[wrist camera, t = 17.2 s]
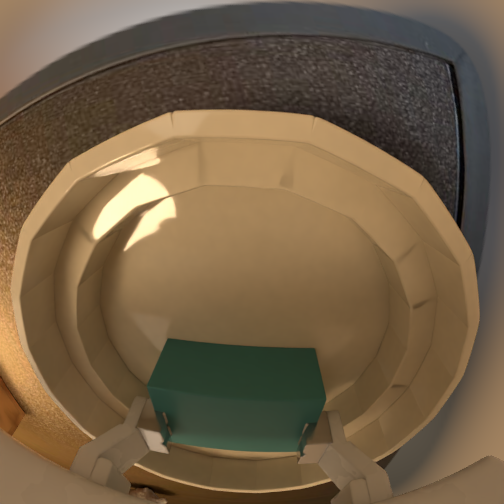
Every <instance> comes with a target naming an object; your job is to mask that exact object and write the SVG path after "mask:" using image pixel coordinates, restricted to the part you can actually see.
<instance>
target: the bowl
mask: <svg viewBox="0 0 504 504" xmlns="http://www.w3.org/2000/svg"><path fill="white" fill-rule="evenodd" d="M10 289H11V291H10V292H11V299H12V305H13V311H14V317H15V322H16V326H17V331H18V336H19V340H20V343H21V346H22V348H23V350H24V353H25V355H26V357H27V359H28V361H29V363H30V365H31V367H32V368H33V370H34V372H35V374H36V376H37V378H38V379H39V381H40V383H41V385H42V386H43V388H44V390H45V391H46V392H47V394H48V395H49V396H50V397H51V399H52V400H53V401H54V402H55V403H56V404H57V406H58V407H59V408H60V409H61V410H62V411H63V412H64V413H65V414H66V416H67V417H68V418H69V419H70V420H71V421H72V422H73V423H74V424H75V425H76V426H77V427H78V428H79V429H80V430H82V431H83V432H84V433H85V434H87V435H88V436H89V437H91V438H92V439H93V440H94V439H95V438H97V437H99V436H100V435H102V434H104V433H105V432H107V431H109V430H110V429H112V428H114V427H115V426H117V425H119V424H123V423H124V421H125V419H126V416H127V414H128V412H129V410H130V407H131V405H132V403H133V401H134V398H135V397H136V396H141V397H146V398H150V396H149V393H148V389H147V384H148V382H149V379H150V377H151V375H152V372H153V370H154V368H155V365H156V363H157V361H158V359H159V356H160V354H161V352H162V350H163V347H164V345H165V343H166V341H167V339H168V338H171V339H179V340H187V341H196V342H205V343H216V344H227V345H241V346H257V347H282V348H315V350H316V355H317V359H318V363H319V367H320V371H321V376H322V380H323V384H324V389H325V393H326V398H327V400H326V403H325V405H324V408H323V410H322V411H333V410H338V411H339V413H340V417H341V421H342V425H343V429H344V433H345V437H346V441H347V442H348V441H350V442H351V443H352V444H354V445H355V446H356V447H357V448H358V449H359V450H361V451H362V452H363V453H364V454H365V455H367V456H368V457H369V458H370V459H371V460H373V461H374V462H377V461H379V460H380V459H382V458H384V457H386V456H388V455H389V454H391V453H393V452H394V451H396V450H397V449H398V448H400V447H401V446H402V445H404V444H405V443H406V442H407V441H408V440H410V439H411V438H412V437H413V436H414V435H416V434H417V433H418V432H419V431H420V430H421V429H422V428H424V427H425V426H426V425H427V424H428V423H429V422H430V421H431V420H432V419H433V418H434V417H435V416H436V414H437V413H438V412H439V410H440V409H441V408H442V406H443V405H444V404H445V402H446V401H447V399H448V398H449V396H450V395H451V394H452V392H453V391H454V389H455V388H456V386H457V385H458V383H459V381H460V380H461V378H462V377H463V374H464V372H465V369H466V367H467V364H468V361H469V358H470V354H471V351H472V348H473V345H474V341H475V338H476V334H477V330H478V326H479V320H480V310H479V295H478V286H477V276H476V268H475V261H474V255H473V254H472V250H471V248H470V247H469V245H468V243H467V241H466V239H465V238H464V236H463V234H462V232H461V231H460V229H459V227H458V226H457V224H456V222H455V221H454V219H453V218H452V216H451V214H450V213H449V211H448V210H447V208H446V207H445V205H444V204H443V202H442V201H441V199H440V198H439V196H438V195H437V193H436V192H435V191H434V189H433V188H432V186H431V185H430V184H429V182H428V181H427V180H426V179H425V178H424V177H423V176H422V175H421V174H419V173H418V172H416V171H415V170H413V169H412V168H410V167H409V166H407V165H406V164H404V163H403V162H401V161H399V160H398V159H396V158H395V157H393V156H391V155H390V154H388V153H386V152H385V151H383V150H381V149H380V148H378V147H376V146H374V145H373V144H371V143H369V142H367V141H365V140H364V139H362V138H360V137H358V136H356V135H354V134H352V133H350V132H348V131H346V130H344V129H342V128H340V127H338V126H336V125H334V124H332V123H330V122H328V121H326V120H324V119H322V118H319V117H315V118H314V116H312V115H306V114H298V113H288V112H276V111H261V110H234V109H205V110H179V111H174V112H168V113H166V114H163V115H161V116H158V117H156V118H153V119H151V120H149V121H146V122H144V123H142V124H139V125H137V126H135V127H133V128H131V129H128V130H126V131H124V132H122V133H120V134H118V135H116V136H114V137H112V138H110V139H108V140H106V141H104V142H102V143H100V144H98V145H97V146H95V147H93V148H91V149H89V150H87V151H86V152H84V153H82V154H80V155H79V156H77V157H75V158H73V159H72V160H71V161H70V162H68V163H67V164H66V166H65V167H64V168H63V169H62V170H61V172H60V173H59V174H58V175H57V177H56V178H55V179H54V181H53V182H52V183H51V184H50V186H49V187H48V188H47V190H46V191H45V193H44V194H43V195H42V197H41V198H40V200H39V201H38V202H37V204H36V205H35V207H34V208H33V210H32V211H31V213H30V214H29V216H28V217H27V219H26V221H25V222H24V224H23V225H22V228H21V231H20V236H19V240H18V245H17V250H16V255H15V260H14V266H13V273H12V280H11V287H10ZM134 465H135V466H138V467H140V468H142V469H144V470H146V471H149V472H151V473H153V474H156V475H158V476H160V477H163V478H166V479H170V480H173V481H177V482H180V483H184V484H188V485H192V486H196V487H201V488H205V489H210V490H219V491H230V492H246V493H264V492H276V491H286V490H294V489H301V488H307V487H311V486H315V485H318V484H322V483H326V482H329V481H332V480H331V479H330V478H329V477H328V475H327V474H326V473H325V472H324V471H323V470H322V468H321V467H320V466H319V465H318V463H311V464H297V453H296V452H250V451H233V450H222V449H213V448H204V447H197V446H190V445H184V444H179V443H173V442H172V445H171V448H170V452H169V454H166V453H161V452H156V451H151V450H149V452H148V453H147V454H146V455H145V456H143V457H142V458H141V459H140V460H139V461H138V462H136V463H135V464H134Z"/></svg>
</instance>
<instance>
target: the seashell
mask: <svg viewBox="0 0 504 504" xmlns="http://www.w3.org/2000/svg"><path fill="white" fill-rule="evenodd" d="M129 495H132V496H135V497H138V498H142V499H145V500H149V501H153V502H157V503H161V504H166V503H167V500H166V499H165V498H162V499H160V498H158V496H157V495H156V494H154V492H153V491H152V490H151V489H149V488H136V490H132V489H130V490H129Z"/></svg>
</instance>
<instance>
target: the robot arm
mask: <svg viewBox="0 0 504 504" xmlns="http://www.w3.org/2000/svg"><path fill="white" fill-rule="evenodd" d="M167 424H168V420H167V417H166V415H165V412H160V411H155V410H154V408H153V405H152V402H151V399H150V398H146V397H141V396H136V397H135V398H134V401H133V403H132V405H131V407H130V410H129V412H128V414H127V416H126V419H125V421H124V423H123V424H119V425H117V426H115V427H114V428H112V429H110V430H109V431H107V432H105V433H104V434H102V435H100V436H99V437H97V438H95V439H94V440H92V441H90V442H88V443H87V444H85V445H83V446H81V447H80V448H79V450H78V453H77V455H76V457H75V459H74V461H73V463H72V465H71V467H70V470H67V469H65V468H63V467H61V466H60V465H58V464H56V463H54V462H52V461H50V460H49V459H47V458H45V457H43V456H42V455H40V454H38V453H37V452H35V451H33V450H32V449H30V448H29V447H27V446H26V445H24V444H23V443H21V442H20V441H18V440H17V439H15V438H14V437H12V436H11V435H10V434H8V433H7V432H6V431H4V430H3V429H2V428H0V504H161V503H157V502H153V501H149V500H145V499H142V498H138V497H135V496H132V495H129V490H130V487H131V484H130V482H129V481H128V480H127V479H126V478H125V476H124V475H123V473H124V472H125V471H127V470H128V469H129V468H130V467H131V466H133V465H134V464H135V463H136V462H138V461H139V460H140V459H141V458H142V457H143V456H145V455H146V454H147V453H148V452H149V450H151V451H156V452H161V453H166V454H169V452H170V448H171V445H172V439H171V436H172V432H171V429H170V426H169V425H167ZM302 434H303V435H301V437H300V439H299V442H298V445H299V446H298V448H297V451H296V453H297V464H311V463H318V465H319V466H320V467H321V468H322V470H323V471H324V472H325V473H326V474H327V475H328V477H329V478H330V479H331V480H332V481H333V482H334V483H335V484H336V486H337V487H338V488H339V489H340V490H341V491H340V492H339V493H338V494H337V495H336V496H335V497H334V498H333V499H332V500H331V504H504V461H502V460H500V459H498V458H496V457H493V456H486V457H484V458H482V459H480V460H479V461H477V462H475V463H473V464H472V465H470V466H468V467H466V468H464V469H462V470H460V471H458V472H456V473H454V474H452V475H450V476H448V477H445V478H443V479H441V480H439V481H436V482H434V483H432V484H429V485H427V486H424V487H422V488H419V489H416V490H413V491H411V492H408V493H405V494H402V495H399V496H396V497H393V493H392V489H391V486H390V483H389V478H388V475H387V472H386V471H385V470H384V469H382V468H381V467H380V466H379V465H377V464H376V463H375V462H374V461H373V460H371V459H370V458H369V457H368V456H367V455H365V454H364V453H363V452H362V451H361V450H359V449H358V448H357V447H356V446H355V445H354V444H352V443H351V442H350V441H348V442H347V441H346V437H345V433H344V429H343V425H342V421H341V417H340V413H339V411H338V410H333V411H322V413H321V415H320V418H319V420H318V422H316V423H306V424H305V427H304V429H303V432H302Z"/></svg>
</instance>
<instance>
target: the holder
mask: <svg viewBox="0 0 504 504" xmlns="http://www.w3.org/2000/svg"><path fill="white" fill-rule="evenodd" d="M24 416H25V413H24V412H23V410H22V409H21V407H20V406H19V405H18V403H17V402H16V400H15V399H14V397H13V396H12V394H11V393H10V391H9V390H8V388H7V387H6V385H5V384H4V382H3V380H2V379H1V377H0V428H2V429H3V430H4V431H6V432H7V433H8V434H10V435H11V436H12V435H13V433H14V432H15V430H16V428H17V427H18V425H19V424H20V422H21V421H22V419H23V417H24Z"/></svg>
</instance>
